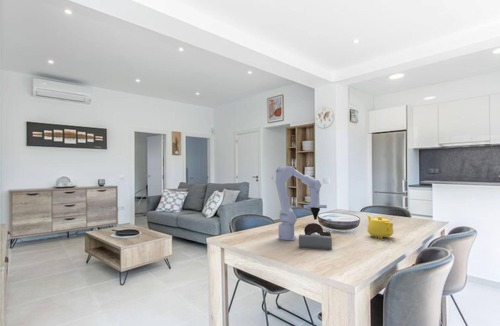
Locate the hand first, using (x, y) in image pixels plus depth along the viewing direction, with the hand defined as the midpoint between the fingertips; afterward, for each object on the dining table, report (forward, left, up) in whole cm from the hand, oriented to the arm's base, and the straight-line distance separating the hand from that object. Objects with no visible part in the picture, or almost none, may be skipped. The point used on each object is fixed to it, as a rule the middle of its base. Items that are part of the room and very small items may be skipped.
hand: (315, 219), depth 178 cm
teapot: (+38, +2, -10) cm, 39 cm away
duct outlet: (+2, -31, -9) cm, 32 cm away
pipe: (+2, -19, -10) cm, 21 cm away
